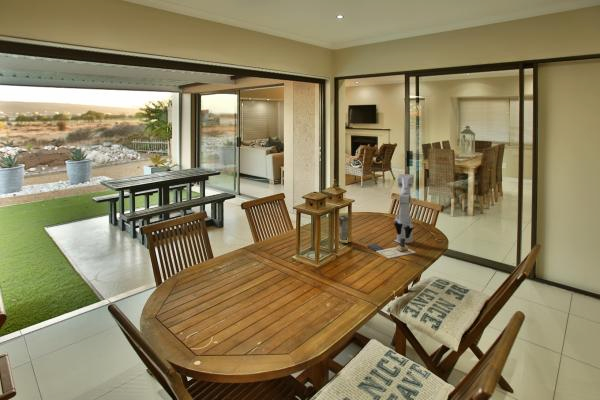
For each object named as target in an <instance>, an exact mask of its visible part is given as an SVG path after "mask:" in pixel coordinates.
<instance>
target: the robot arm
mask: <svg viewBox="0 0 600 400" xmlns="http://www.w3.org/2000/svg"><path fill="white" fill-rule="evenodd" d="M414 181H415V175H414V174H413V173H412V174H409V173H408V174H404V173H398V174H397V187H398V188H400V191H399V192H400V194H399V197H398V198H399V199H398V205H399V210H398V214H397V215H396V216H395V218H394V223H393V225H394V227H395V230H396V239H394V240H393V241H394V242H396V243H398V244H400V239H401V238H404V239H405V244H409V243H413V242H414V240H413V230H414V229H415V227H414V224H413V222H412V221H413V220H412V215H411V214H410V210H411V209H410V208H411V207H410V206H411V203H412V195H411V189H412V188H413V187H414Z"/></svg>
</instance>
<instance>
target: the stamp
mask: <svg viewBox="0 0 600 400" xmlns="http://www.w3.org/2000/svg"><path fill="white" fill-rule="evenodd" d="M396 247H397V250H398V251H400V252H404V251H408V249H409V246H408V245H406V243H405V239H404V238H401V239H400V243H399V245H398V244H397V245H396Z"/></svg>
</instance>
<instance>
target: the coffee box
mask: <svg viewBox="0 0 600 400" xmlns="http://www.w3.org/2000/svg"><path fill="white" fill-rule="evenodd" d="M348 218H349V217H348V216H346V215H340V217H339V235H340V239H341V240H347V237H348Z"/></svg>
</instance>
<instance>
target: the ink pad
mask: <svg viewBox="0 0 600 400" xmlns="http://www.w3.org/2000/svg"><path fill="white" fill-rule="evenodd" d="M366 247H367V248H368V249H369V250H371V251H372V252H376V251H379V250H384V247H383V246H381V245H379V244H377V243H375V244H368V245H366Z"/></svg>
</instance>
